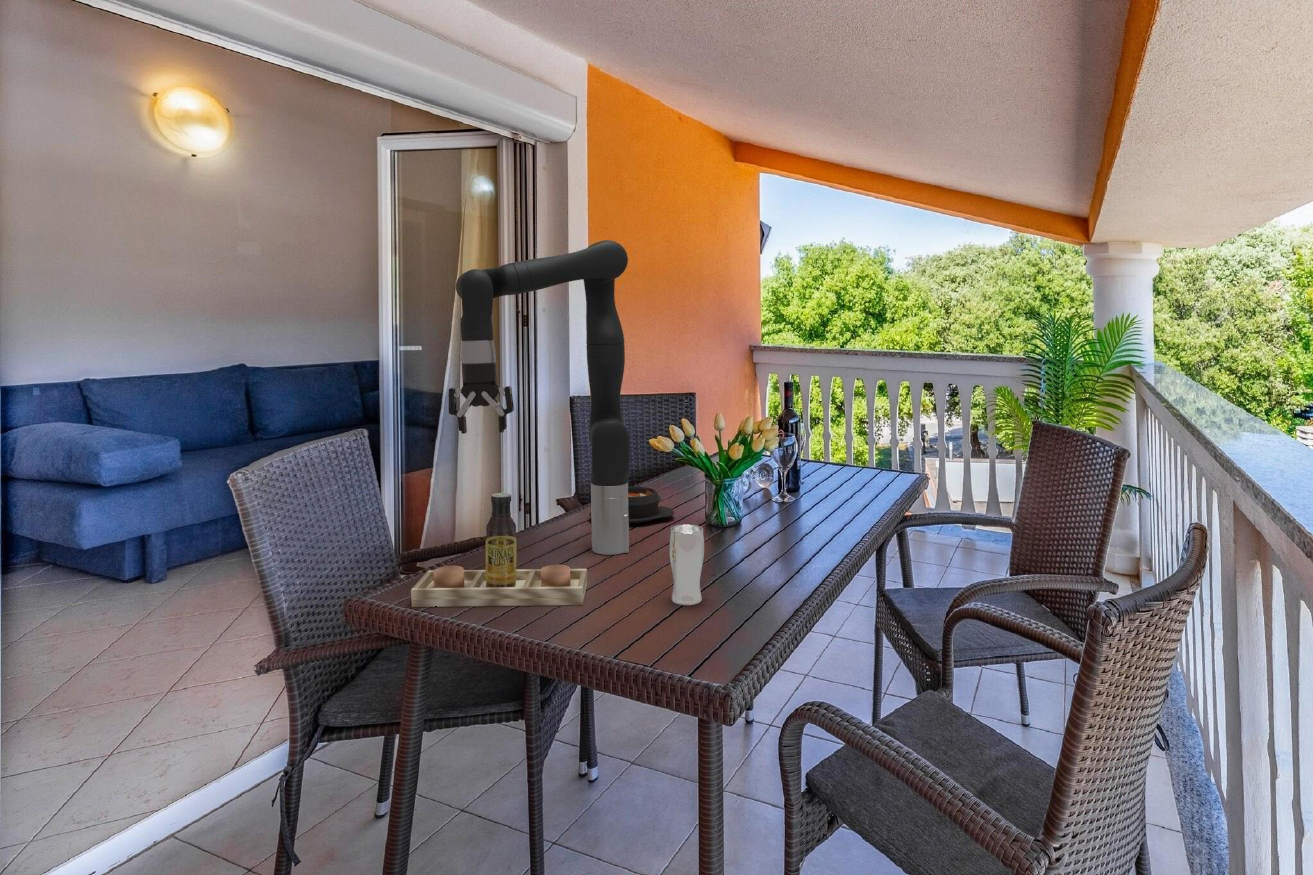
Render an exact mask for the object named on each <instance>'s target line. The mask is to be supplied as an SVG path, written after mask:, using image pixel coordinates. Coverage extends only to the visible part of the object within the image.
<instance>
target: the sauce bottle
mask: <svg viewBox="0 0 1313 875" xmlns="http://www.w3.org/2000/svg"><path fill="white" fill-rule="evenodd" d="M490 501H491V508H492V509H491V516H490V518H489V521H488V522H487V524H486V527H485V528H486V529H485V530H486V536H485V570H486V587H487V588H488V587H515V585H516V570H517V525H516V523H515V521H514V519H513V518H512V513H511V502H512V494H511V493H507V492H496V493H492V494H491V496H490Z"/></svg>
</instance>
